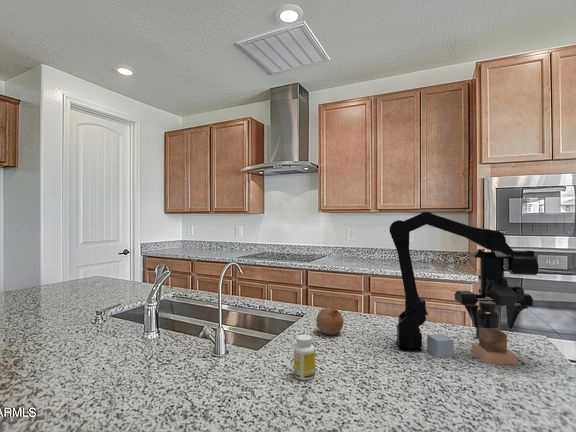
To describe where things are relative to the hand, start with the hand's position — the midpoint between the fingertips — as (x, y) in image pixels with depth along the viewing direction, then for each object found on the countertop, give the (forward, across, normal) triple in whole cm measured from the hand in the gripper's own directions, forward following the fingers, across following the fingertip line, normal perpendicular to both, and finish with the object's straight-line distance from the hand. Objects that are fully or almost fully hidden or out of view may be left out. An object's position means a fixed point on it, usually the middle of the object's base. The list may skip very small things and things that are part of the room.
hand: (492, 328), depth 91 cm
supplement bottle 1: (+8, -53, -16) cm, 56 cm away
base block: (+9, 0, 0) cm, 9 cm away
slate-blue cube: (+8, -14, +1) cm, 17 cm away
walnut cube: (+6, 0, 0) cm, 6 cm away
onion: (+8, -46, +15) cm, 49 cm away
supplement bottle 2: (+9, +6, +15) cm, 18 cm away
